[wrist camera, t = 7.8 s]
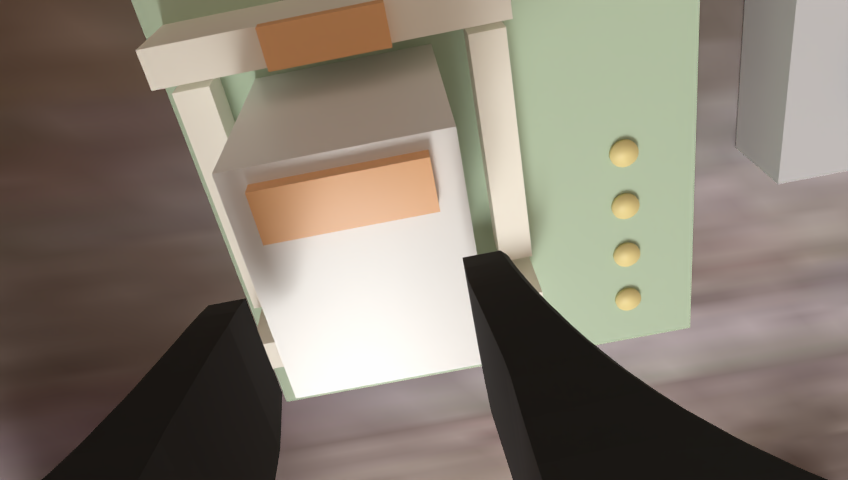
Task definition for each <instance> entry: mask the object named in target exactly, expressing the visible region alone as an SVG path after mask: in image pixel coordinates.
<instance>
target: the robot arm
mask: <svg viewBox="0 0 848 480" xmlns="http://www.w3.org/2000/svg"><path fill="white" fill-rule="evenodd" d="M463 264H464V270H465V275H466V281H467V287H468V292H469V298H470V303H471V309H472V315H473V320H474V326H475V332H476V337H477V343H478V348H479V354H480V359H481V364H482V369H483V374H484V379H485V384H486V388H487V393H488V398H489V403H490V408H491V412H492V415H493V418H494V422H495V425H496V428H497V431H498V434H499V437H500V440H501V444H502V447H503V450H504V453H505V456H506V459H507V462H508V465H509V468H510V472H511V475H512V478H513V480H827V479H825V478H822V477H820V476H817V475H815V474H812V473H810V472H807V471H805V470H803V469H801V468H798V467H796V466H794V465H792V464H790V463H788V462H785V461H783V460H781V459H779V458H777V457H775V456H773V455H771V454H769V453H766V452H764V451H762V450H760V449H758V448H756V447H754V446H752V445H750V444H748V443H746V442H744V441H742V440H740V439H738V438H736V437H734V436H732V435H731V434H729V433H727V432H725V431H723V430H722V429H720V428H718V427H716V426H714V425H713V424H711V423H709V422H707V421H705V420H704V419H702V418H700V417H698V416H696V415H695V414H693V413H691V412H689V411H687V410H686V409H684V408H682V407H681V406H679V405H678V404H676V403H674V402H673V401H671V400H670V399H668V398H667V397H665V396H663V395H662V394H660V393H659V392H657V391H656V390H654V389H653V388H651V387H650V386H648V385H647V384H645V383H644V382H643V381H641V380H640V379H638V378H637V377H635V376H634V375H633V374H631V373H630V372H628V371H627V370H626V369H624V368H623V367H622V366H620V365H619V364H618V363H616V362H615V361H614V360H613V359H611V358H610V357H609V356H608V355H606V354H605V353H604V352H603V351H601V350H600V349H599V348H598V347H597V346H595V345H594V344H593V343H592V342H591V341H589V340H588V339H587V338H586V337H585V336H584V335H582V334H581V333H580V332H579V331H578V330H577V329H576V328H575V327H573V326H572V325H571V324H570V323H569V322H568V321H567V320H566V319H565V318H564V317H563V316H562V315H561V314H560V313H559V312H558V311H557V310H556V309H555V308H553V307H552V306H551V305H550V304H549V303H548V302H547V301H546V300H545V299H544V298H543V296H542V295H541V294H540V293H539V292H538V291H537V290H536V289H535V288H534V287H533V286H532V285H531V283H530V282H529V281H528V280H527V279H526V278H525V277H524V275H523V274H522V273H521V272H520V271H519V269H518V268H517V267H516V266H515V264H514V263H513V262H512V260H511V259H510V257H509V256H508V255H507V254H505V253H504V252H502V251H501V250H500V251H495V252H489V253H484V254H479V255H473V256H468V257H463ZM281 411H282V391H281V389H280V386H279V384H278V381H277V379H276V376H275V373H274V371H273V368H272V366H271V363H270V361H269V358H268V355H267V353H266V350H265V348H264V345H263V343H262V340H261V337H260V335H259V332H258V330H257V327H256V325H255V322H254V319H253V317H252V314H251V312H250V309H249V307H248V304H247V301H246V299H241V300H235V301H230V302H225V303H220V304H214V305H209V306H208V307H207V308H206V309H205V310H204V311H203V312H202V313H201V314H200V315H199V316H198V317H197V318H196V319H195V320H194V321H193V322H192V323H191V324H190V326H189V327H188V328H187V329H186V330H185V331H184V332H183V333H182V335H181V336H180V337H179V338H178V339H177V340H176V341H175V343H174V344H173V345H172V346H171V347H170V348H169V350H168V351H167V352H166V353H165V354H164V355H163V356H162V358H161V359H160V360H159V361H158V362H157V363H156V364H155V365H154V366H153V368H152V369H151V370H150V371H149V372H148V373H147V374H146V375H145V377H144V378H143V379H142V380H141V381H140V382H139V383H138V384H137V386H136V387H135V388H134V389H133V390H132V391H131V392H130V393H129V394H128V395H127V396H126V398H125V399H124V400H123V401H122V402H121V403H120V404H119V405H118V406H117V407H116V408H115V409H114V410H113V411H112V412H111V413H110V414H109V415H108V416H107V417H106V418H105V419H104V420H103V421H102V422H101V423H100V424H99V425H98V426H97V427H96V428H95V429H94V430H93V432H92V433H91V434H90V435H89V436H88V437H87V438H86V439H85V440H84V441H83V442H82V443H81V444H80V445H79V446H78V447H77V448H76V449H75V450H74V451H73V452H71V453H70V454H69V455H68V456H67V457H66V458H65V459H64V460H63V461H62V462H61V463H60V464H59V465H58V466H57V467H55V468H54V469H53V470H52V471H51V472H50V473H49V474H48V475H47V476H45V477H44V478H43V479H42V480H275V477H276V471H277V465H278V458H279V452H280V438H281Z"/></svg>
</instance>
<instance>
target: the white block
mask: <svg viewBox="0 0 848 480" xmlns="http://www.w3.org/2000/svg"><path fill="white" fill-rule="evenodd" d="M212 176H213V179H214V182H215V184H216V187H217V190H218V192H219V195H220V198H221V200H222V203H223V206H224V208H225V211H226V214H227V216H228V219H229V222H230V224H231V227H232V230H233V232H234V235H235V238H236V240H237V243H238V246H239V248H240V251H241V254H242V256H243V259H244V261H245V264H246V267H247V269H248V272H249V275H250V277H251V280H252V283H253V285H254V288H255V291H256V293H257V296H258V299H259V301H260V304H261V307H262V309H263V312H264V315H265V317H266V320H267V323H268V325H269V328H270V331H271V333H272V336H273V339H274V341H275V344H276V347H277V349H278V352H279V355H280V357H281V360H282V362H283V365H284V368H285V370H286V373H287V376H288V378H289V381H290V384H291V386H292V389H293V392H294V394H295V397H296V398H301V397H306V396H312V395H317V394H323V393H328V392H334V391H339V390H344V389H350V388H355V387H361V386H366V385H372V384H377V383H382V382H388V381H393V380H399V379H404V378H410V377H415V376H420V375H426V374H431V373H437V372H442V371H448V370H453V369H458V368H464V367H469V366H475V365H480V364H481V359H480V354H479V348H478V343H477V337H476V332H475V326H474V320H473V315H472V309H471V303H470V298H469V292H468V287H467V281H466V275H465V270H464V264H463V257H468V256H473V255H477V251H476V245H475V238H474V232H473V226H472V220H471V214H470V208H469V202H468V196H467V190H466V184H465V178H464V171H463V165H462V159H461V153H460V147H459V141H458V135H457V129H456V124H455V121H454V118H453V114H452V111H451V108H450V104H449V101H448V98H447V94H446V91H445V88H444V84H443V81H442V78H441V74H440V71H439V68H438V64H437V61H436V58H435V54H434V51H433V48H432V45H431V44H427V45H422V46H417V47H411V48H406V49H401V50H396V51H391V52H386V53H381V54H376V55H371V56H366V57H361V58H356V59H351V60H346V61H341V62H336V63H331V64H326V65H321V66H316V67H311V68H306V69H301V70H296V71H291V72H286V73H281V74H276V75H271V76H266V77H261V78H256V79H255V80H254V83H253V85H252V87H251V89H250V91H249V94H248V96H247V98H246V100H245V102H244V104H243V107H242V109H241V111H240V113H239V115H238V118H237V120H236V122H235V124H234V126H233V129H232V131H231V133H230V135H229V137H228V139H227V142H226V144H225V146H224V148H223V150H222V153H221V155H220V157H219V159H218V161H217V164H216V166H215V168H214V170H213V172H212Z"/></svg>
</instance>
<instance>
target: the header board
mask: <svg viewBox="0 0 848 480" xmlns="http://www.w3.org/2000/svg"><path fill="white" fill-rule="evenodd" d="M131 1H132V4H133V6H134V9H135V12H136V14H137V17H138V19H139V22H140V24H141V27H142V30H143V32H144V35H145V37H146V41H145V42H144V43H143V44H142V45H141V46H140V47H139V48H137V49H136V50H135V51H136V53H137V56H138V58H139V61H140V63H141V66H142V68H143V71H144V73H145V76H146V78H147V81H148V83H149V86H150V88H151V91H154V90H159V89H164V88H165V89H166V92H167V94H168V97H169V99H170V102H171V104H172V107H173V110H174V112H175V115H176V117H177V120H178V123H179V125H180V128H181V130H182V133H183V135H184V138H185V141H186V143H187V146H188V148H189V151H190V154H191V156H192V159H193V161H194V164H195V166H196V169H197V172H198V174H199V177H200V179H201V182H202V185H203V187H204V190H205V192H206V195H207V197H208V200H209V203H210V205H211V208H212V210H213V213H214V215H215V218H216V221H217V223H218V226H219V228H220V231H221V234H222V236H223V239H224V241H225V244H226V246H227V249H228V252H229V254H230V257H231V259H232V262H233V265H234V267H235V270H236V272H237V275H238V277H239V280H240V283H241V285H242V288H243V290H244V293H245V296H246V298H247V301H248V303H249V306H250V308H251V311H252V314H253V316H254V319H255V321H256V324H257V327H258V328H257V330H258V332H259V335H260V337H261V340H262V343H263V345H264V348H265V350H266V353H267V355H268V358H269V361H270V363H271V366H272V368H273V369H274V370H275V373H276V376H277V378H278V381H279V383H280V386H281V388H282V391H283V394H284V396H285V399H286V401H287V402H289V401H294V400H300V399H305V398H311V397H316V396H322V395H327V394H332V393H338V392H343V391H349V390H354V389H360V388H365V387H370V386H376V385H381V384H387V383H392V382H398V381H403V380H408V379H414V378H419V377H425V376H430V375H436V374H441V373H446V372H452V371H457V370H463V369H468V368H474V367H479V366H482V364H480V365H475V366H469V367H464V368H458V369H453V370H448V371H442V372H437V373H431V374H426V375H420V376H415V377H410V378H404V379H399V380H393V381H388V382H382V383H377V384H372V385H366V386H361V387H355V388H350V389H344V390H339V391H334V392H328V393H323V394H317V395H312V396H306V397H301V398H296V397H295V394H294V392H293V389H292V386H291V384H290V381H289V378H288V376H287V373H286V370H285V368H284V365H283V362H282V360H281V357H280V355H279V352H278V349H277V347H276V344H275V341H274V339H273V336H272V333H271V331H270V328H269V325H268V323H267V320H266V317H265V315H264V312H263V309H262V307H261V304H260V301H259V299H258V296H257V293H256V291H255V288H254V285H253V283H252V280H251V277H250V275H249V272H248V269H247V267H246V264H245V261H244V259H243V256H242V254H241V251H240V248H239V246H238V243H237V240H236V238H235V235H234V232H233V230H232V227H231V224H230V222H229V219H228V216H227V214H226V211H225V208H224V206H223V203H222V200H221V198H220V195H219V192H218V190H217V187H216V184H215V182H214V179H213V176H212V172H213V170H214V168H215V166H216V164H217V161H218V159H219V157H220V155H221V153H222V150H223V148H224V146H225V144H226V142H227V139H228V137H229V135H230V133H231V131H232V129H233V126H234V124H235V122H236V120H237V118H238V115H239V113H240V111H241V109H242V107H243V104H244V102H245V100H246V98H247V96H248V94H249V91H250V89H251V87H252V85H253V83H254V80H255V79H256V78H261V77H266V76H271V75H276V74H281V73H286V72H291V71H296V70H301V69H306V68H311V67H316V66H321V65H326V64H331V63H336V62H341V61H346V60H351V59H356V58H361V57H366V56H371V55H376V54H381V53H386V52H391V51H396V50H401V49H406V48H411V47H417V46H422V45H427V44H431V45H432V48H433V51H434V54H435V58H436V61H437V64H438V68H439V71H440V74H441V78H442V81H443V84H444V88H445V91H446V94H447V98H448V101H449V104H450V108H451V111H452V114H453V118H454V121H455V124H456V129H457V135H458V141H459V147H460V153H461V159H462V165H463V171H464V178H465V184H466V190H467V196H468V202H469V208H470V214H471V220H472V226H473V232H474V238H475V245H476V251H477V255H479V254H484V253H489V252H495V251H500V250H501V251H502V252H504V253H505V254H507V255H508V256H509V257H510V259H511V260H512V262H513V263H514V264H515V266H516V267H517V268H518V269H519V271H520V272H521V273H522V274H523V275H524V277H525V278H526V279H527V280H528V281H529V282H530V283H531V285H532V286H533V287H534V288H535V289H536V290H537V291H538V292H539V293H540V294H541V295H542V296H543V298H544V299H545V300H546V301H547V302H548V303H549V304H550V305H551V306H552V307H553V308H555V309H556V310H557V311H558V312H559V313H560V314H561V315H562V316H563V317H564V318H565V319H566V320H567V321H568V322H569V323H570V324H571V325H572V326H573V327H575V328H576V329H577V330H578V331H579V332H580V333H581V334H582V335H584V336H585V337H586V338H587V339H588V340H589V341H591V342H592V343H593V344H594V345H599V344H604V343H609V342H615V341H620V340H626V339H631V338H637V337H642V336H647V335H653V334H658V333H664V332H669V331H675V330H680V329H686V328H690V312H691V278H692V245H693V211H694V178H695V145H696V111H697V78H698V45H699V11H700V0H131Z"/></svg>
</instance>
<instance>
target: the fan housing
mask: <svg viewBox="0 0 848 480" xmlns="http://www.w3.org/2000/svg"><path fill="white" fill-rule="evenodd" d="M735 148H736V149H738V150H739V151H740V152H741V153H742V154H743V155H745V156H746V157H747V158H748V159H749V160H750V161H752V162H753V163H754V164H755V165H756V166H757V167H759V168H760V169H761V170H762V171H763V172H764V173H766V174H767V175H768V176H769V177H770V178H771V179H773V180H774V181H775V182H776V183H777V184H782V183H787V182H792V181H798V180H803V179H808V178H813V177H819V176H824V175H829V174H835V173H840V172H845V171H848V0H745V4H744V20H743V36H742V52H741V68H740V84H739V100H738V116H737V132H736V147H735Z"/></svg>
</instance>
